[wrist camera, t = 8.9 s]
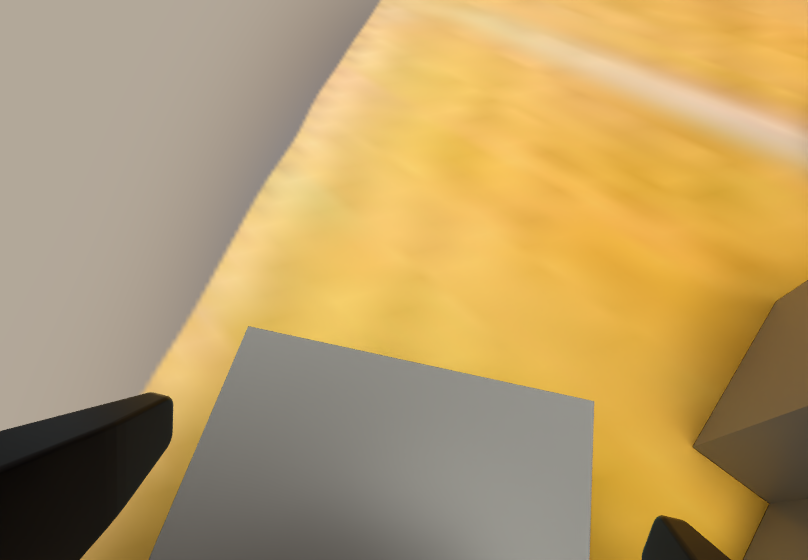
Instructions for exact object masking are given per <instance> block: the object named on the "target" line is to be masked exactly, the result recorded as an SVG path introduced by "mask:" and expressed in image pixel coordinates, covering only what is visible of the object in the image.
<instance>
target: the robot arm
mask: <svg viewBox="0 0 808 560" xmlns="http://www.w3.org/2000/svg"><path fill="white" fill-rule="evenodd" d="M172 432H173V401H172V399H171V398H170V397H169V396H165V395H161V394H157V393H145V394H142V395H138V396H134V397H130V398H127V399H122V400H119V401H115V402H111V403H107V404H103V405H99V406H96V407H91V408H88V409H84V410H80V411H76V412H72V413H68V414H64V415H61V416H57V417H53V418H49V419H45V420H42V421H37V422H34V423H30V424H26V425H22V426H18V427H14V428H11V429H7V430H3V431H0V560H80V559H81V557H82V556H83V555H84V554H85V553H86V552H87V551H88V549H89V548H90V547H91V546H92V545H93V544H94V543H95V541H96V540H97V539H98V538H99V537H100V536H101V535H102V533H103V532H104V531H105V530H106V529H107V528H108V526H109V525H110V524H111V523H112V522H113V520H114V519H115V518H116V517H117V516H118V514H119V513H120V512H121V510H122V509H123V508H124V507H125V505H126V504H127V503H128V501H129V500H130V498H131V497H132V496H133V494H134V493H135V491H136V490H137V489H138V487H139V486H140V485H141V483H142V482H143V480H144V479H145V478H146V476H147V475H148V473H149V472H150V471H151V469H152V468H153V467H154V465H155V464H156V462H157V461H158V460H159V458H160V457H161V455H162V454H163V453H164V451H165V450H166V449H167V447H168V445H169V443H170V441H171V438H172ZM642 560H730V559H729V558H728V557H727V556H726V555H724V554H723V553H722V552H721V551H720V550H719V549H717V548H716V547H715V546H714V545H713V544H712V543H710V542H709V541H708V540H707V539H706V538H704V537H703V536H702V535H701V534H700V533H699V532H697V531H696V530H695V529H694V528H693V527H691V526H690V525H689V524H688V523H687V522H685V521H683V520H680V519H676V518H671V517H667V516H663V515H661V516H658V517H657V518H656V519H655V521H654V523H653V525H652V528H651V531H650V533H649V536H648V539H647V542H646V544H645V547H644V550H643V553H642Z"/></svg>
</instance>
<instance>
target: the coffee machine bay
mask: <svg viewBox="0 0 808 560" xmlns="http://www.w3.org/2000/svg"><path fill="white" fill-rule="evenodd" d="M693 447H694V448H695V449H696V450H698V451H699V452H700V453H702V454H703V455H704V456H706V457H707V458H708V459H710V460H711V461H713V462H714V463H715V464H717V465H718V466H719V467H721V468H722V469H723V470H725V471H726V472H727V473H729V474H730V475H732V476H733V477H734V478H736V479H737V480H738V481H740V482H741V483H742V484H744V485H745V486H746V487H748V488H749V489H751V490H752V491H753V492H755V493H756V494H757V495H759V496H760V497H761V498H763V499H764V500H765V501H767V502H768V503H770V504H769V506H768V508H767V510H766V513H765V515H764V517H763V519H762V521H761V523H760V525H759V527H758V530H757V532H756V534H755V536H754V538H753V540H752V542H751V545H750V547H749V549H748V551H747V553H746V555H745V557H744V559H743V560H808V280H807V281H806V282H804V283H803V284H801V285H800V286H798V287H797V288H795V289H794V290H792V291H791V292H789V293H788V294H786V295H785V296H783V297H782V298H780V299H779V300H777V301H776V303H775V304H774V306H773V308H772V310H771V311H770V313H769V315H768V317H767V318H766V320H765V322H764V324H763V325H762V327H761V329H760V331H759V332H758V334H757V336H756V338H755V339H754V341H753V343H752V345H751V346H750V348H749V350H748V351H747V353H746V355H745V357H744V358H743V360H742V362H741V364H740V365H739V367H738V369H737V371H736V372H735V374H734V376H733V378H732V379H731V381H730V383H729V385H728V386H727V388H726V390H725V392H724V393H723V395H722V397H721V399H720V400H719V402H718V404H717V406H716V407H715V409H714V411H713V412H712V414H711V416H710V418H709V419H708V421H707V423H706V425H705V426H704V428H703V430H702V432H701V433H700V435H699V437H698V439H697V440H696V442H695V444H694V446H693Z"/></svg>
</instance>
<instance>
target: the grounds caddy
mask: <svg viewBox="0 0 808 560" xmlns="http://www.w3.org/2000/svg"><path fill="white" fill-rule="evenodd" d="M593 421H594V401H590V400H586V399H581V398H576V397H572V396H567V395H563V394H558V393H553V392H549V391H544V390H540V389H535V388H530V387H526V386H521V385H517V384H512V383H507V382H503V381H498V380H493V379H489V378H484V377H480V376H475V375H470V374H466V373H461V372H457V371H452V370H447V369H443V368H438V367H434V366H429V365H424V364H420V363H415V362H411V361H406V360H401V359H397V358H392V357H388V356H383V355H378V354H374V353H369V352H365V351H360V350H355V349H351V348H346V347H342V346H337V345H332V344H328V343H323V342H319V341H314V340H309V339H305V338H300V337H296V336H291V335H286V334H282V333H277V332H273V331H268V330H263V329H259V328H254V327H249V326H248V328H247V331H246V333H245V335H244V338H243V340H242V342H241V345H240V347H239V349H238V352H237V354H236V356H235V359H234V361H233V363H232V366H231V368H230V370H229V373H228V375H227V377H226V380H225V382H224V384H223V387H222V389H221V391H220V394H219V396H218V398H217V401H216V403H215V405H214V408H213V410H212V412H211V415H210V417H209V419H208V422H207V424H206V427H205V429H204V431H203V434H202V436H201V438H200V441H199V443H198V445H197V448H196V450H195V452H194V455H193V457H192V459H191V462H190V464H189V466H188V469H187V471H186V473H185V476H184V478H183V480H182V483H181V485H180V487H179V490H178V492H177V494H176V497H175V499H174V501H173V504H172V506H171V508H170V511H169V513H168V515H167V518H166V520H165V523H164V525H163V527H162V530H161V532H160V534H159V537H158V539H157V541H156V544H155V546H154V548H153V551H152V553H151V555H150V558H149V560H589V554H590V520H591V487H592V454H593Z"/></svg>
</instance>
